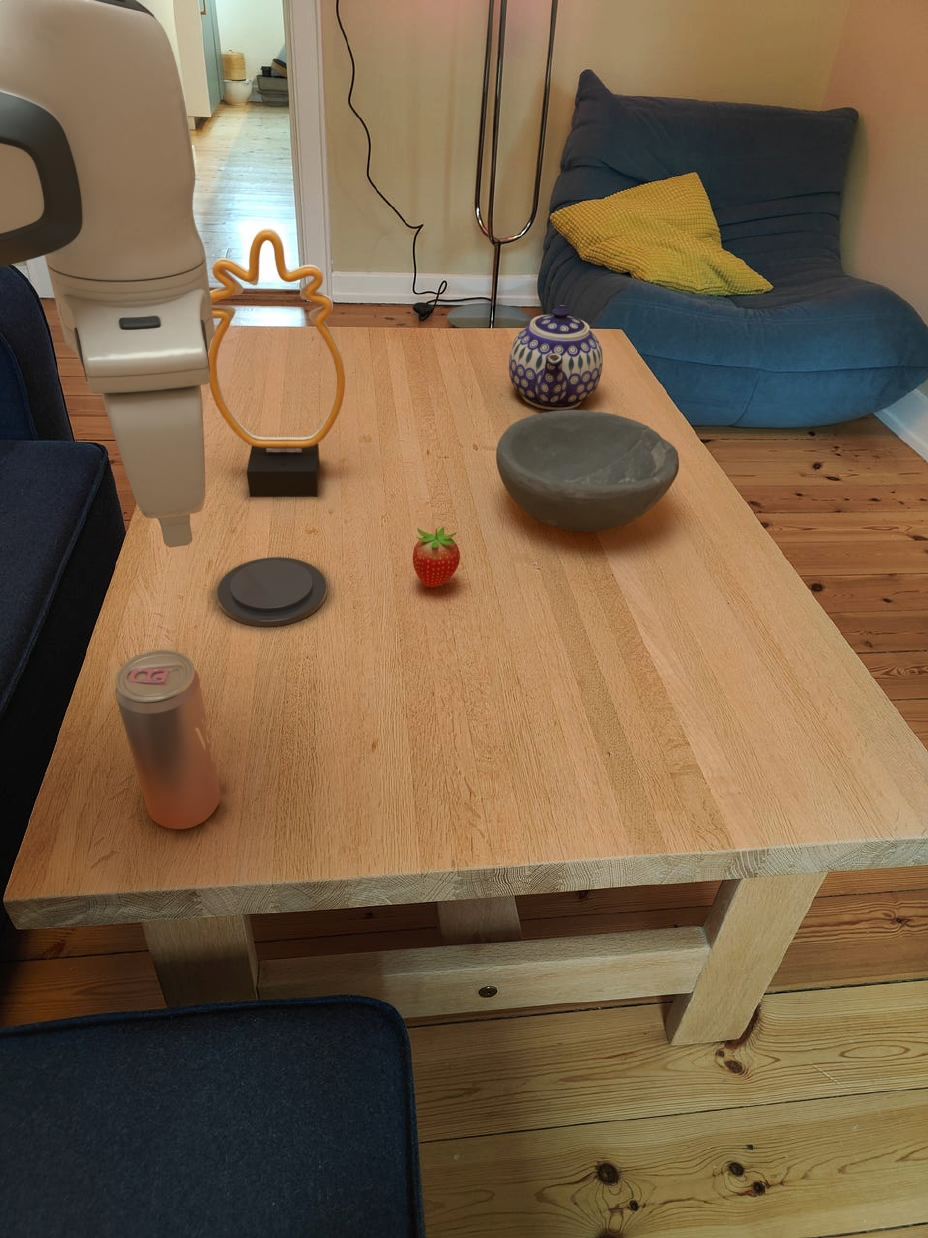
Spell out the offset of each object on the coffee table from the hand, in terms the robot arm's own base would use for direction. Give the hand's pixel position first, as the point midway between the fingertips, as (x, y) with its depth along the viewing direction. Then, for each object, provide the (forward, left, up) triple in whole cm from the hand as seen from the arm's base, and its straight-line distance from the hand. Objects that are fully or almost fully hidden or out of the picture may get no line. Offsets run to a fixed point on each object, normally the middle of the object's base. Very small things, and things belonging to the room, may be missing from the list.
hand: (171, 504), depth 60 cm
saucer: (+8, +23, -26) cm, 36 cm away
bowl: (+49, +32, -27) cm, 64 cm away
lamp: (+13, +48, -27) cm, 57 cm away
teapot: (+59, +66, -27) cm, 93 cm away
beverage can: (-3, -5, -27) cm, 27 cm away
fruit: (+26, +20, -27) cm, 42 cm away
